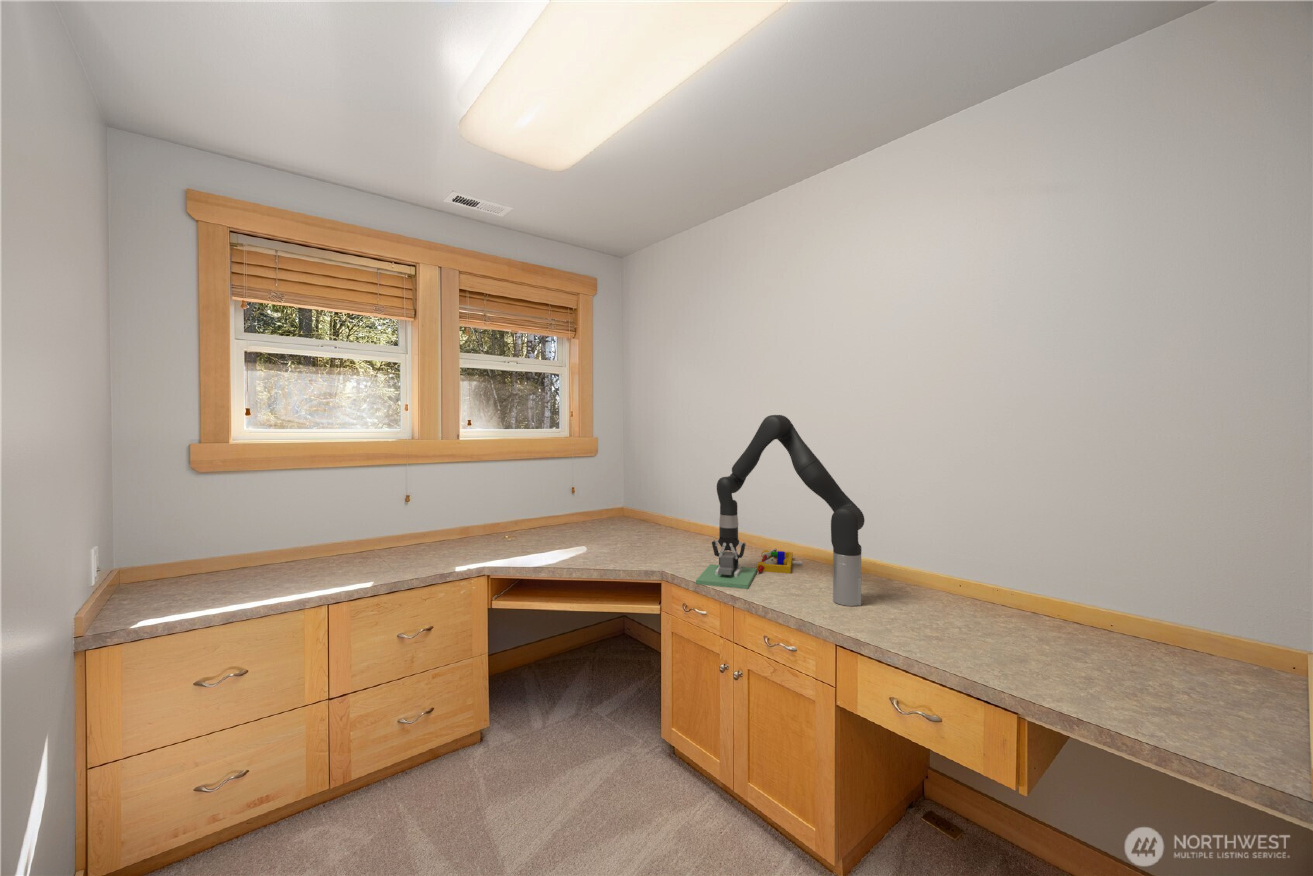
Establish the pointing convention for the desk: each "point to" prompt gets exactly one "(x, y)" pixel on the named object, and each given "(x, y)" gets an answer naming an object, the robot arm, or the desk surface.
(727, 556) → the grey stepped block
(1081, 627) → the desk surface
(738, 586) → the green plate with u-rail
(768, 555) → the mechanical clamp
